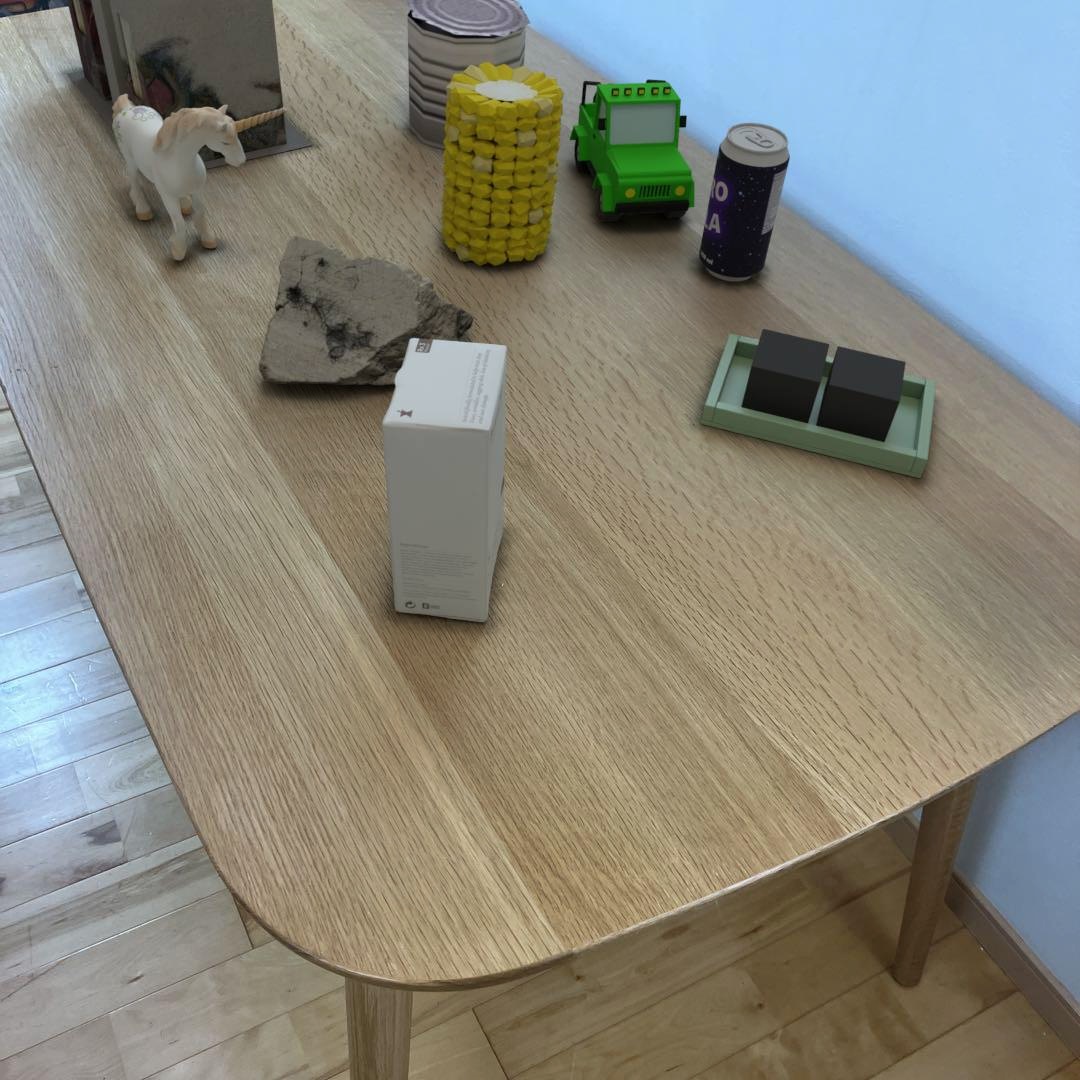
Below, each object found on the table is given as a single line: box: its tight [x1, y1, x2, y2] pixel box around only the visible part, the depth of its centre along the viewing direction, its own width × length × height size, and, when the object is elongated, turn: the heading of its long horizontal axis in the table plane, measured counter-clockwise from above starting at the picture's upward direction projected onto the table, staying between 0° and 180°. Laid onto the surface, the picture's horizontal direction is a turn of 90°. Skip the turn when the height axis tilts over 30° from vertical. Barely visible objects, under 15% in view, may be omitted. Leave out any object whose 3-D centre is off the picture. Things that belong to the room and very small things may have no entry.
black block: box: [741, 328, 830, 424], centre depth 83 cm, size 5×5×4 cm
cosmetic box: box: [381, 338, 508, 623], centre depth 65 cm, size 8×6×15 cm
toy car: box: [569, 78, 696, 222], centre depth 102 cm, size 8×17×10 cm, turn 12°
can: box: [406, 0, 531, 151], centre depth 108 cm, size 11×11×12 cm
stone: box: [258, 235, 475, 386], centre depth 82 cm, size 12×17×10 cm
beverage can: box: [698, 122, 791, 282], centre depth 93 cm, size 6×6×12 cm
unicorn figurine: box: [112, 94, 288, 261], centre depth 90 cm, size 7×20×13 cm, turn 54°
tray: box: [700, 333, 937, 479], centre depth 83 cm, size 16×10×2 cm, turn 72°
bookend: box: [66, 0, 313, 170], centre depth 106 cm, size 16×25×16 cm, turn 33°
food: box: [440, 62, 565, 267], centre depth 93 cm, size 15×12×10 cm
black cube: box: [816, 346, 907, 442], centre depth 82 cm, size 5×5×4 cm
